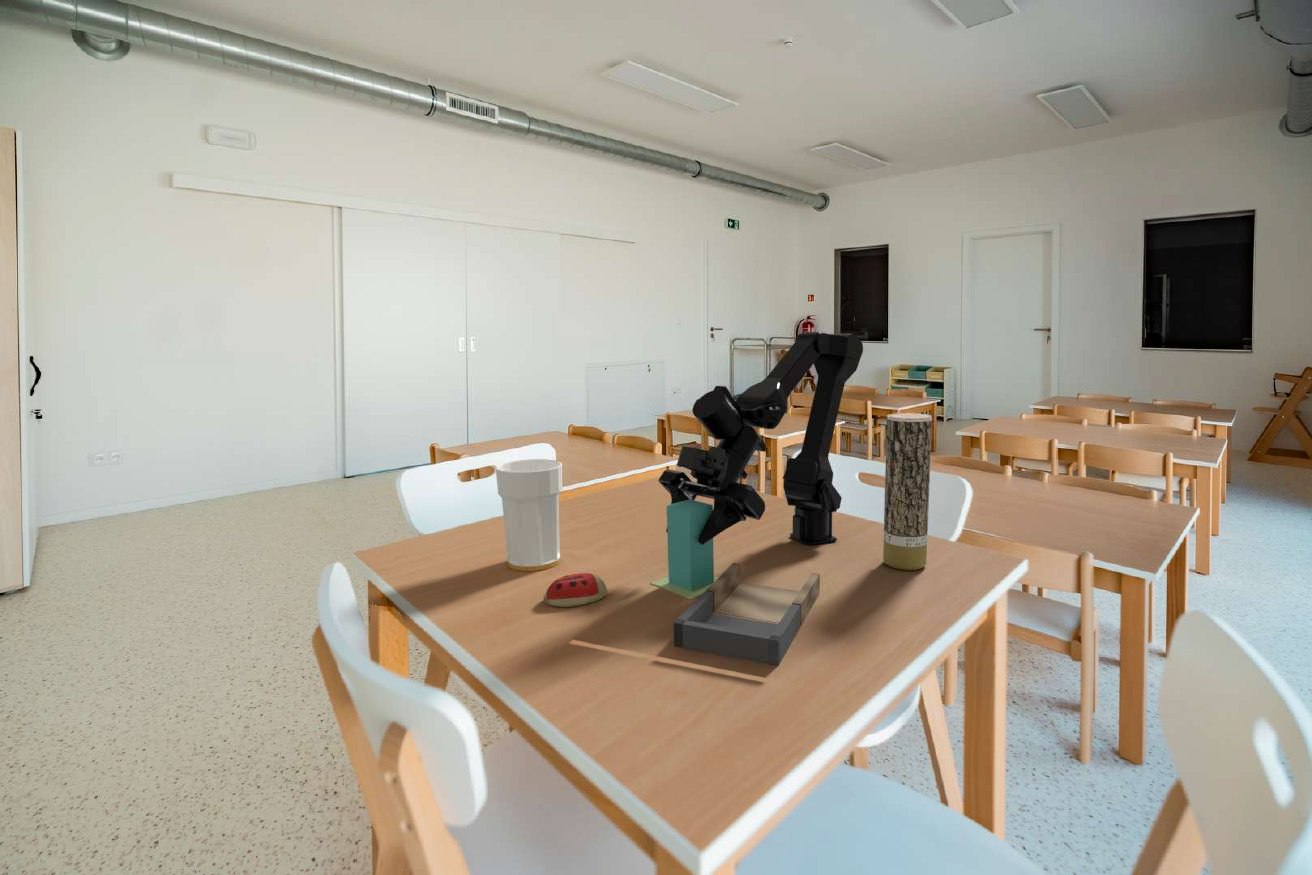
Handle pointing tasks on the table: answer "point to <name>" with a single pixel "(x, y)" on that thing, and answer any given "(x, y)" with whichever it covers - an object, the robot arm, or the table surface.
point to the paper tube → (907, 490)
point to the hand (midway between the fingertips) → (683, 538)
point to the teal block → (689, 545)
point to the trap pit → (735, 633)
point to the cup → (531, 512)
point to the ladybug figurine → (575, 590)
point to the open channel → (760, 597)
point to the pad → (681, 591)
